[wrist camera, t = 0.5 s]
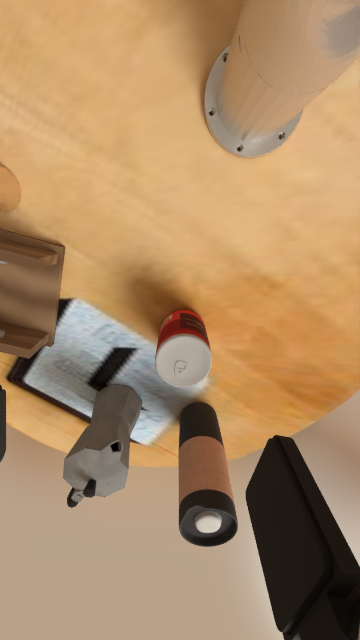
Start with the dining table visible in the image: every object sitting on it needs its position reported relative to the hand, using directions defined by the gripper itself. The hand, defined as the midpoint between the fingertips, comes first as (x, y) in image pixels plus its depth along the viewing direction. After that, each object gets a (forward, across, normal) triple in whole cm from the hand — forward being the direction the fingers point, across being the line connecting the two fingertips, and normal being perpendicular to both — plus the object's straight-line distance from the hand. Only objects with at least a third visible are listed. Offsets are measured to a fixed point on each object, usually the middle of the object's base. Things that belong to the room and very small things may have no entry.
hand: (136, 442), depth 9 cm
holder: (+35, +23, +8) cm, 42 cm away
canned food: (+35, -4, +10) cm, 36 cm away
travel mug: (+35, -12, +27) cm, 46 cm away
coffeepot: (+35, +4, +28) cm, 45 cm away
